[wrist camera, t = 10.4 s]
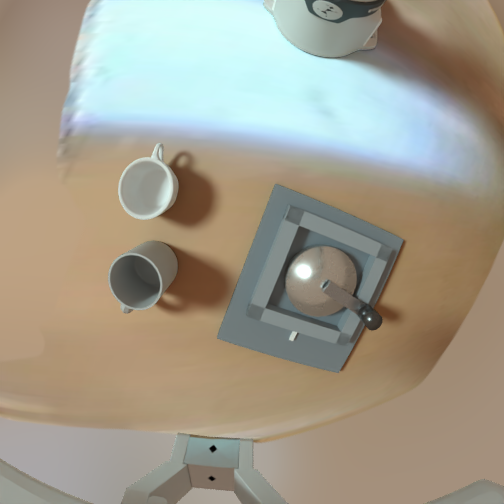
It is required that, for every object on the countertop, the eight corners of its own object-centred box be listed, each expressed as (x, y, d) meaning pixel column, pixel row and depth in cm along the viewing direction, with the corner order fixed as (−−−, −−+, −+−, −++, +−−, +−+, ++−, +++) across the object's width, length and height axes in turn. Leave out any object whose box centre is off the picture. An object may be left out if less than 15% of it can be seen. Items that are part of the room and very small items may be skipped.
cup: (187, 255, 42) (172, 273, 33) (158, 310, 44) (140, 336, 35) (145, 230, 41) (121, 241, 32) (119, 286, 43) (94, 307, 34)
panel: (275, 184, 40) (277, 183, 37) (399, 238, 42) (410, 242, 39) (217, 334, 45) (215, 345, 41) (336, 369, 46) (341, 380, 43)
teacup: (176, 220, 41) (166, 225, 36) (128, 209, 41) (112, 213, 35) (192, 151, 39) (184, 146, 34) (142, 142, 39) (128, 137, 33)
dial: (270, 289, 42) (273, 305, 36) (311, 229, 40) (322, 236, 34) (345, 334, 44) (357, 354, 37) (383, 282, 42) (402, 296, 36)
